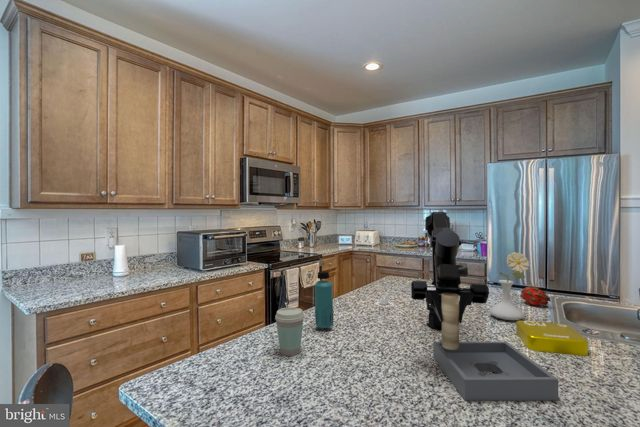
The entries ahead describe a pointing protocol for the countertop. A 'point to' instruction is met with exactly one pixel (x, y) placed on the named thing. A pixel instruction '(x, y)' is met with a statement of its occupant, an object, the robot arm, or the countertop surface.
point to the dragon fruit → (534, 296)
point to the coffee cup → (289, 330)
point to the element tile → (552, 338)
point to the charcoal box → (502, 358)
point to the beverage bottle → (323, 301)
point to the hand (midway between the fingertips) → (450, 322)
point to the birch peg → (450, 321)
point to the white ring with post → (384, 301)
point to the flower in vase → (506, 306)
